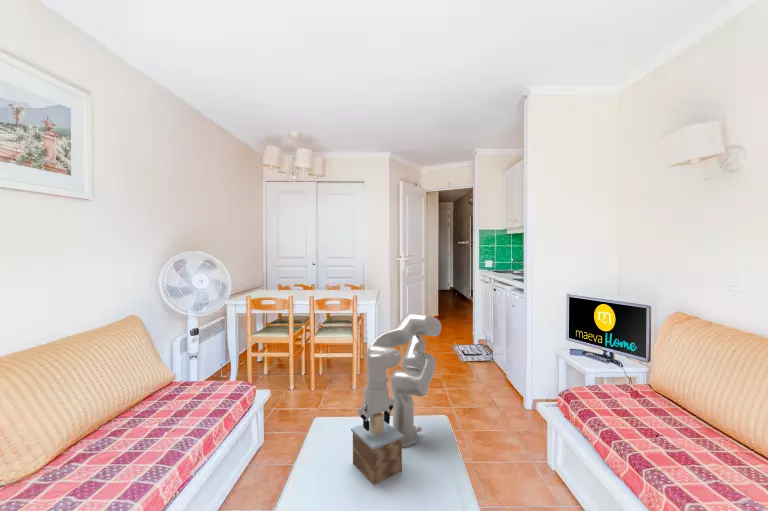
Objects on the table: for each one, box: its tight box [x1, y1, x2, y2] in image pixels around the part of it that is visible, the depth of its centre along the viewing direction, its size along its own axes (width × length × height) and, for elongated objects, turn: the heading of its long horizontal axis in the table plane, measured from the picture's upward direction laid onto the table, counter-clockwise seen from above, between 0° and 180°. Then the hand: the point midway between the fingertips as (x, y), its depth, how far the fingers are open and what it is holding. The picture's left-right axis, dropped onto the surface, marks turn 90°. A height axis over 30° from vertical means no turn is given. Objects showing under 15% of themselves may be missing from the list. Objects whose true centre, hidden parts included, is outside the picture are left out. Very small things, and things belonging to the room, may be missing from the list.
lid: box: [350, 412, 404, 450], centre depth 137 cm, size 14×16×9 cm
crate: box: [352, 432, 403, 486], centre depth 138 cm, size 13×15×14 cm
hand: (376, 425), depth 137 cm, fingers open, 9 cm apart
